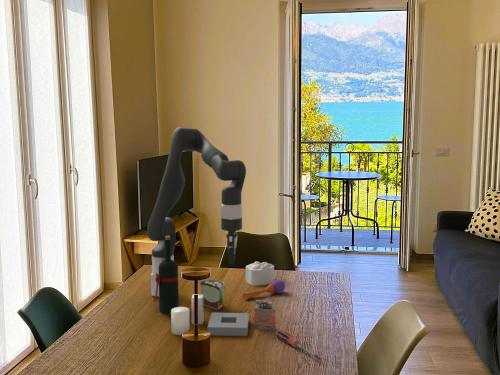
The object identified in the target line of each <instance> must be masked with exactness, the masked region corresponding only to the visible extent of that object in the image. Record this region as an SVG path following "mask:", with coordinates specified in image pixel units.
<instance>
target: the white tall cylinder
mask: <svg viewBox="0 0 500 375" xmlns="http://www.w3.org/2000/svg"><path fill="white" fill-rule="evenodd" d="M194 295H195V294H192V296H191V300H190V301H191V305H190V306H191V325H195V324H194ZM197 295H198V324H197V325H203V323H204V319H205V314H204V312H205V309H204V308H205V307H204V306H205V305H204V295H202V294H197Z"/></svg>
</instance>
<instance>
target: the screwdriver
mask: <svg viewBox="0 0 500 375" xmlns="http://www.w3.org/2000/svg"><path fill="white" fill-rule="evenodd" d="M275 335H276V337H277V338H278V339H280V340H281V341H282V342H285V343H287V344H288V345H291V346H292V347H293V348H295V349H297V348H300V349H301V350H303V351H305V353H308V354H309V355H311V356H313V357H314V358H316V359H318V360H319V361H321V360H323V358H322V357H321V356H318V355H316V353H314V352H312V351H311V350H309V349H307V348H305V347H304V346H302V345H301V344H300V341H299V340H298V339H295V338H294V337H293V336H291V335H290V334H289V333H287V332H285V331H283V330H280V329H277V330H276V332H275Z"/></svg>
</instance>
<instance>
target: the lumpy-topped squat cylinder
mask: <svg viewBox="0 0 500 375" xmlns="http://www.w3.org/2000/svg"><path fill="white" fill-rule="evenodd" d="M274 280H275V265H274V264H272V263H268V262H267V261H263V262H260V261H255V262H253V263H250V264H248V265H246V266H245V282H246V283H247V284H248V285H250V284H251V285H250V286H265V285H269V284H272V282H273V281H274Z"/></svg>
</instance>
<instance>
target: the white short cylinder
mask: <svg viewBox="0 0 500 375" xmlns="http://www.w3.org/2000/svg"><path fill="white" fill-rule="evenodd" d="M170 315H171V316H170V318H171V319H170V320H171V322H170V323H171V325H170V326H171V327H170V328H171V334H172V335H176V336H182V335H181V334H182V333H184V332H186V331H188V330H190V328H191V326H190V308H189V307H186V306H179V307H176V308H173V309H172V310H171V314H170ZM190 331H191V330H190Z"/></svg>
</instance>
